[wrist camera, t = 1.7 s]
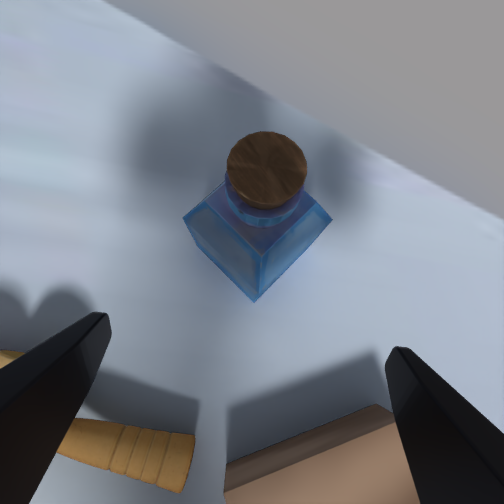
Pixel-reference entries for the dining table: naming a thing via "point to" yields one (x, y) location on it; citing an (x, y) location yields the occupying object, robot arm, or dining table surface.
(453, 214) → the dining table surface
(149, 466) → the kendama
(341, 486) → the walnut plinth
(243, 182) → the perfume bottle
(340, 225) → the dining table surface
